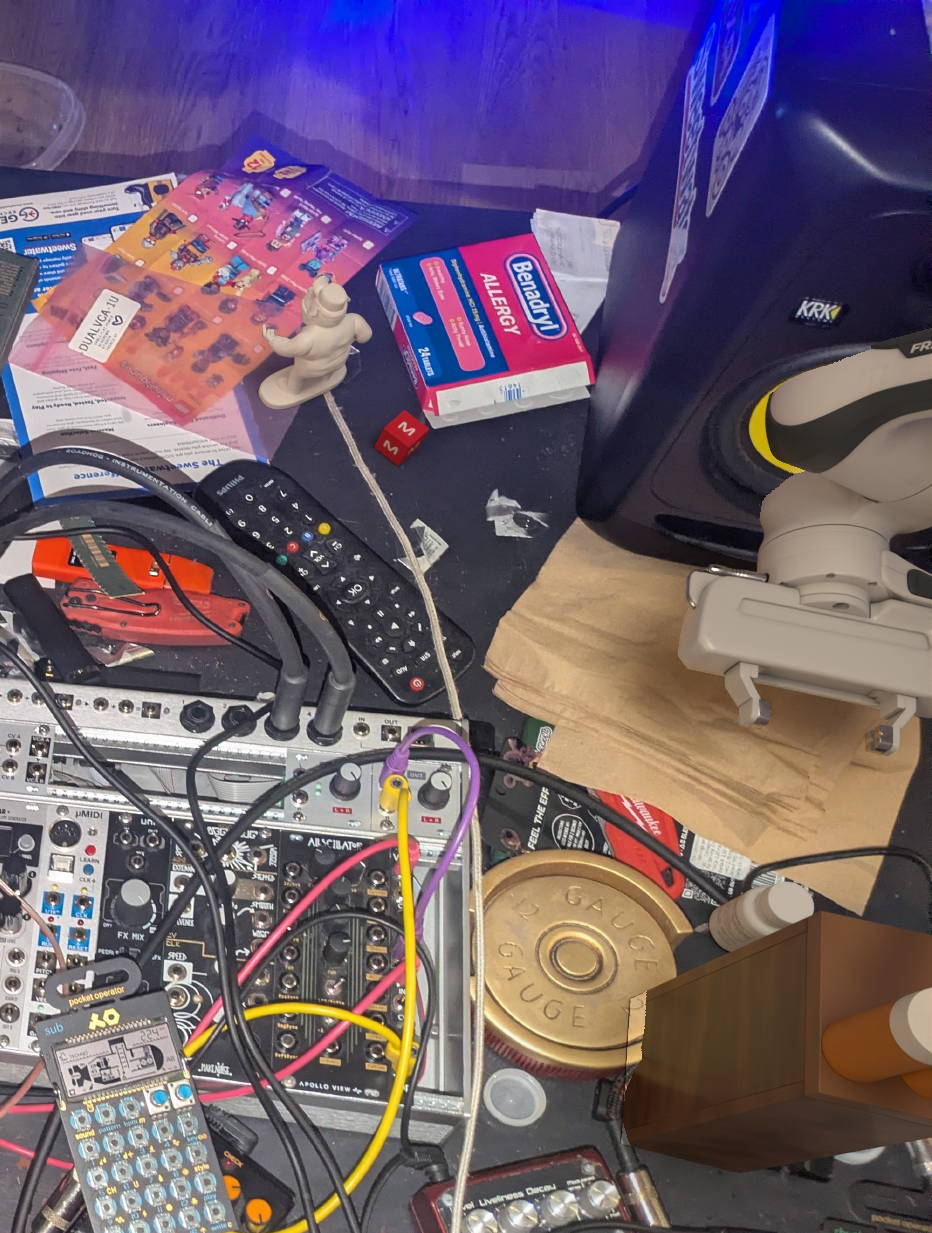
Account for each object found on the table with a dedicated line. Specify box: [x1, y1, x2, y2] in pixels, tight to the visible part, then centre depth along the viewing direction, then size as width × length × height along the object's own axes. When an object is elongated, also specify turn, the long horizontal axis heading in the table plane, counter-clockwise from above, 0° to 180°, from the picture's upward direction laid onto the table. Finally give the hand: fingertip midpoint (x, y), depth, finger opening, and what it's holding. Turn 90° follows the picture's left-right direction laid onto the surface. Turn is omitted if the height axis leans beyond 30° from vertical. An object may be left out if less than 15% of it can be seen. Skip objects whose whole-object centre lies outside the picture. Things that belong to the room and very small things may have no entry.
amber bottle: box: [822, 988, 932, 1083], centre depth 80 cm, size 4×4×8 cm
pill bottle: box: [708, 881, 815, 953], centre depth 108 cm, size 4×4×8 cm
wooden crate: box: [621, 917, 932, 1174], centre depth 97 cm, size 9×12×24 cm
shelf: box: [804, 910, 932, 1126], centre depth 85 cm, size 9×12×2 cm
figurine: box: [257, 274, 373, 411], centre depth 128 cm, size 9×7×12 cm
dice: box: [373, 409, 430, 467], centre depth 128 cm, size 3×3×3 cm
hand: (818, 738), depth 105 cm, fingers open, 8 cm apart
